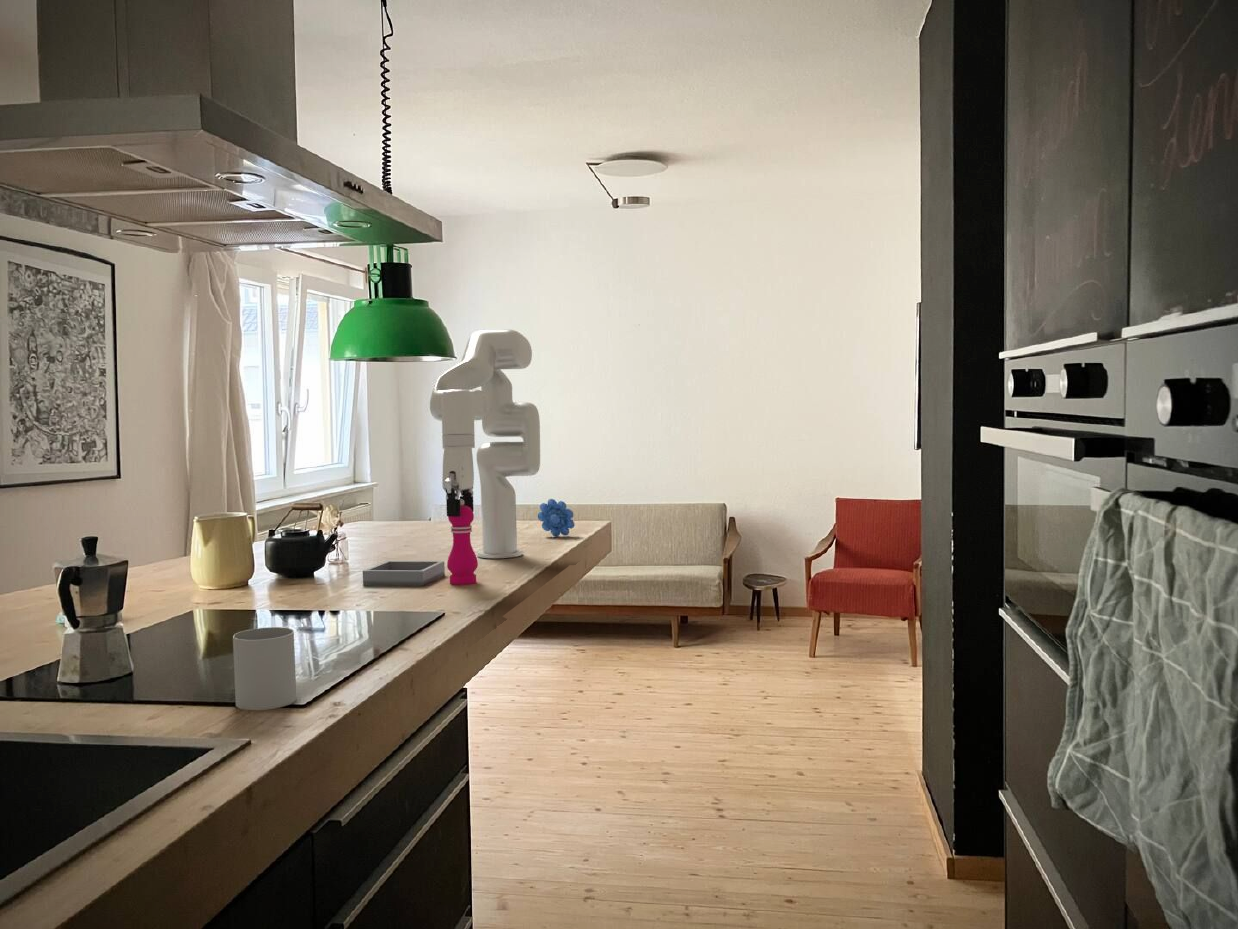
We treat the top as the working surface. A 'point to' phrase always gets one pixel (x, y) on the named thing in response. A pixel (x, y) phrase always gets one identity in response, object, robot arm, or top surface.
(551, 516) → the blue toy flower
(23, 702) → the top surface
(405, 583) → the tray
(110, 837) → the top surface
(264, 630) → the cup
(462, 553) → the pepper mill
